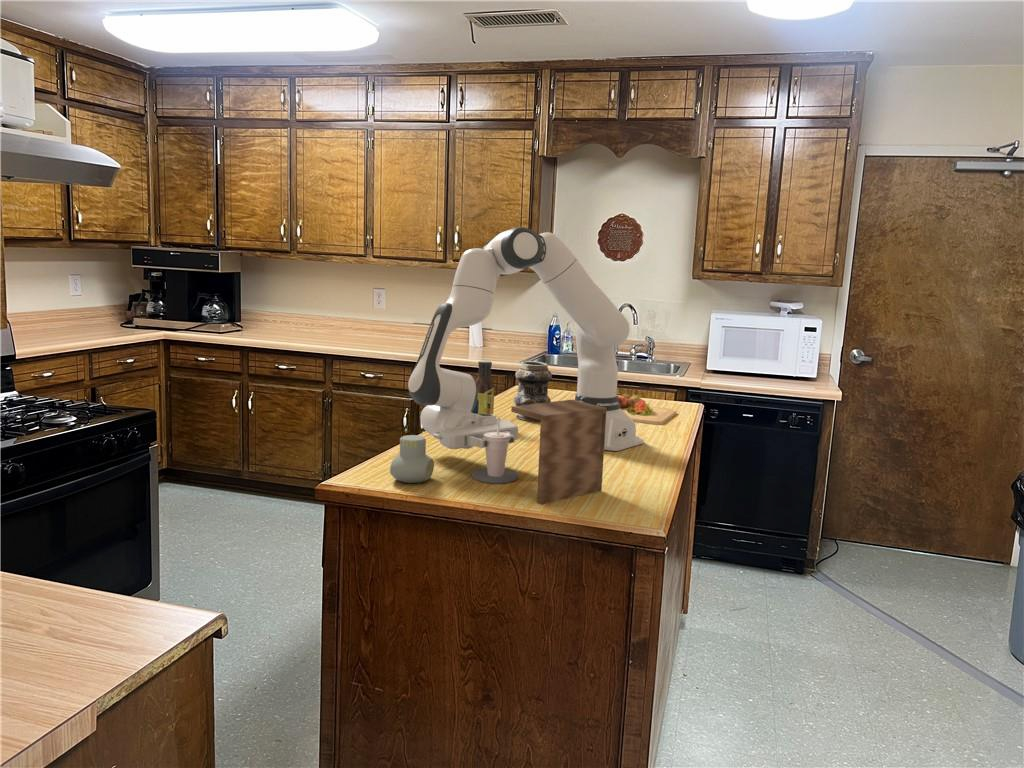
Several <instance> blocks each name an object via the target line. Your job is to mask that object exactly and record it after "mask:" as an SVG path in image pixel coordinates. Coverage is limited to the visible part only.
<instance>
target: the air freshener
mask: <svg viewBox="0 0 1024 768" xmlns="http://www.w3.org/2000/svg"><path fill="white" fill-rule="evenodd" d="M426 448H427V439H426V437H425V436H424V435H423V436H422V435H417V434H410V435H408V434H407V435H404V436H401V437H400V438H399V454H397V455H395V456H394V457H393V459H392V461H391V463H390V469H389V473H390V476H392V477H393V478H394V479H396V480H397V481H399V482H402V483H407V484H419V483H418V482H421V483H425V482H426V481H428V480H429V479H431V477H432V476H433V472H434V469H435V461H434V459H433V458H432V457H431V456H429V455H428V454H427V453H426V451H427V449H426Z"/></svg>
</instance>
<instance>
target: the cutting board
mask: <svg viewBox="0 0 1024 768" xmlns="http://www.w3.org/2000/svg"><path fill="white" fill-rule="evenodd" d="M617 396H618V397H620V396H622V397H626V398H627V399H626V400H627V402H625V403H626V404H622V403H620V409H621V410H622V411H623V412H624V413H626V414H627V415H628V416H629V417H630V418H631V419H632V420H633V421H634V422H635V423H638V424H646V425H647V424H648V425H654V426H655V425H656V426H657V425H658V426H659V425H664V424H665V423H667V422H668V421H669V420H671V418H673V417H674V416H675V415H677V410H676V409H672V408H671V407H669V408H667V407H660V406H653V405H652V406H650V403H646V400H644V399H641V396H639V395H638V394H634V395H632V396H630V395H628V394H625V393H624V394H622V395H617Z"/></svg>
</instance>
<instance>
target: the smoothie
mask: <svg viewBox="0 0 1024 768" xmlns="http://www.w3.org/2000/svg"><path fill="white" fill-rule="evenodd" d="M496 418H497V432H487V433H485V434H484V437H483V439H486V440H487V441H488V443H487V447H484V448H485V459H486V468H487V471H488V475H489V476H493V477H500V476H503V474H504V469H506V468H505V467H506V462H507V461H506V460H507V454H508V448H509V440H510V434H508V433H504V432H499V426H500V419H501V417H500V416H496Z"/></svg>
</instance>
